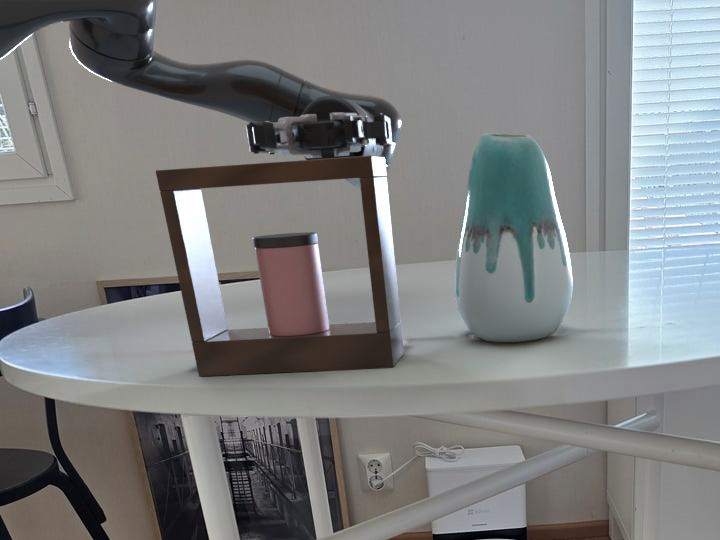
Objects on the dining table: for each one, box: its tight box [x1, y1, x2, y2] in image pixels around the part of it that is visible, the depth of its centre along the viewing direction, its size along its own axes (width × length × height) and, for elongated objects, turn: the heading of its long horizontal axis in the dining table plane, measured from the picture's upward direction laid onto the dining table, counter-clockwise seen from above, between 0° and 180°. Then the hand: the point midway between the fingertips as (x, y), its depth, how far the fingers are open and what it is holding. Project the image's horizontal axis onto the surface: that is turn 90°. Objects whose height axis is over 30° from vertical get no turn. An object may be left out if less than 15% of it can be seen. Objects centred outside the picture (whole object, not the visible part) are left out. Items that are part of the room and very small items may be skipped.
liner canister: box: [252, 231, 330, 336], centre depth 76 cm, size 6×6×8 cm
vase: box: [453, 132, 574, 343], centre depth 82 cm, size 12×12×18 cm
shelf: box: [155, 156, 405, 377], centre depth 76 cm, size 18×6×16 cm, turn 86°
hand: (304, 131), depth 81 cm, fingers open, 8 cm apart
